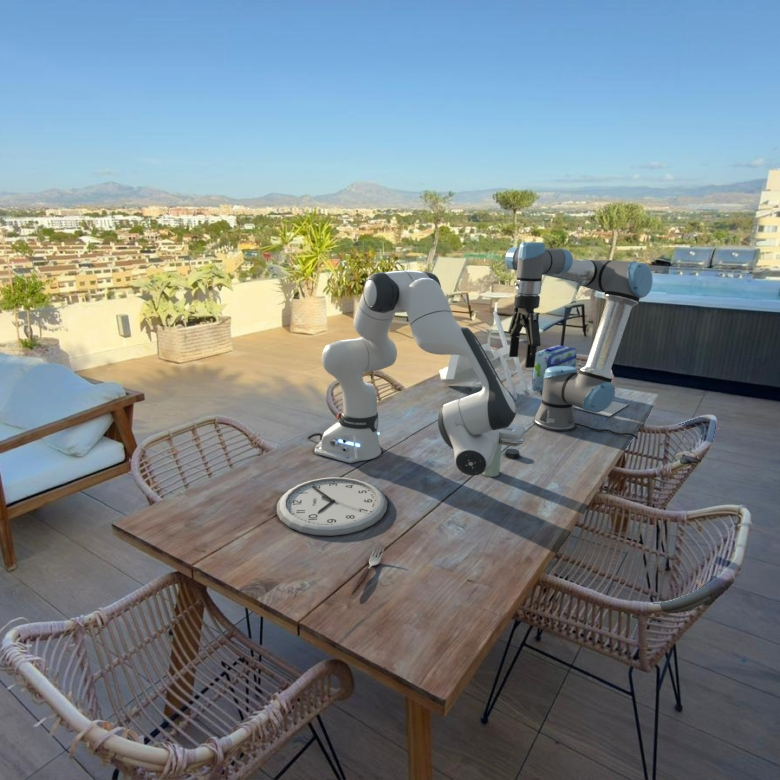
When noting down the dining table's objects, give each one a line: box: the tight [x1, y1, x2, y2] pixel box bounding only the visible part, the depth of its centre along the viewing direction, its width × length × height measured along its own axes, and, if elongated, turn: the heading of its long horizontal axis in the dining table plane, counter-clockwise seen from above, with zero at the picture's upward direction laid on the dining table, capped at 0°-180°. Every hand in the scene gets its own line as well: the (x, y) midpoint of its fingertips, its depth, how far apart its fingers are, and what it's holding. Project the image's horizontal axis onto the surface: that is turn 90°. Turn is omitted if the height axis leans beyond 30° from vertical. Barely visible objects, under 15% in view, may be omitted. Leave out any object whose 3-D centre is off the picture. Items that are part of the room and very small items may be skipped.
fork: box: [351, 545, 385, 596], centre depth 114 cm, size 3×16×2 cm, turn 160°
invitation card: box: [573, 400, 629, 418], centre depth 226 cm, size 21×1×15 cm
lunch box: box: [531, 345, 577, 394], centre depth 245 cm, size 26×11×21 cm, turn 134°
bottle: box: [481, 444, 503, 478], centre depth 161 cm, size 6×6×19 cm
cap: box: [504, 448, 520, 460], centre depth 176 cm, size 5×5×2 cm
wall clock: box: [276, 476, 388, 537], centre depth 142 cm, size 30×2×30 cm
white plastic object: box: [438, 310, 531, 400], centre depth 245 cm, size 37×45×31 cm
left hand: (489, 420), depth 147 cm, fingers open, 8 cm apart
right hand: (521, 361), depth 166 cm, fingers open, 13 cm apart
